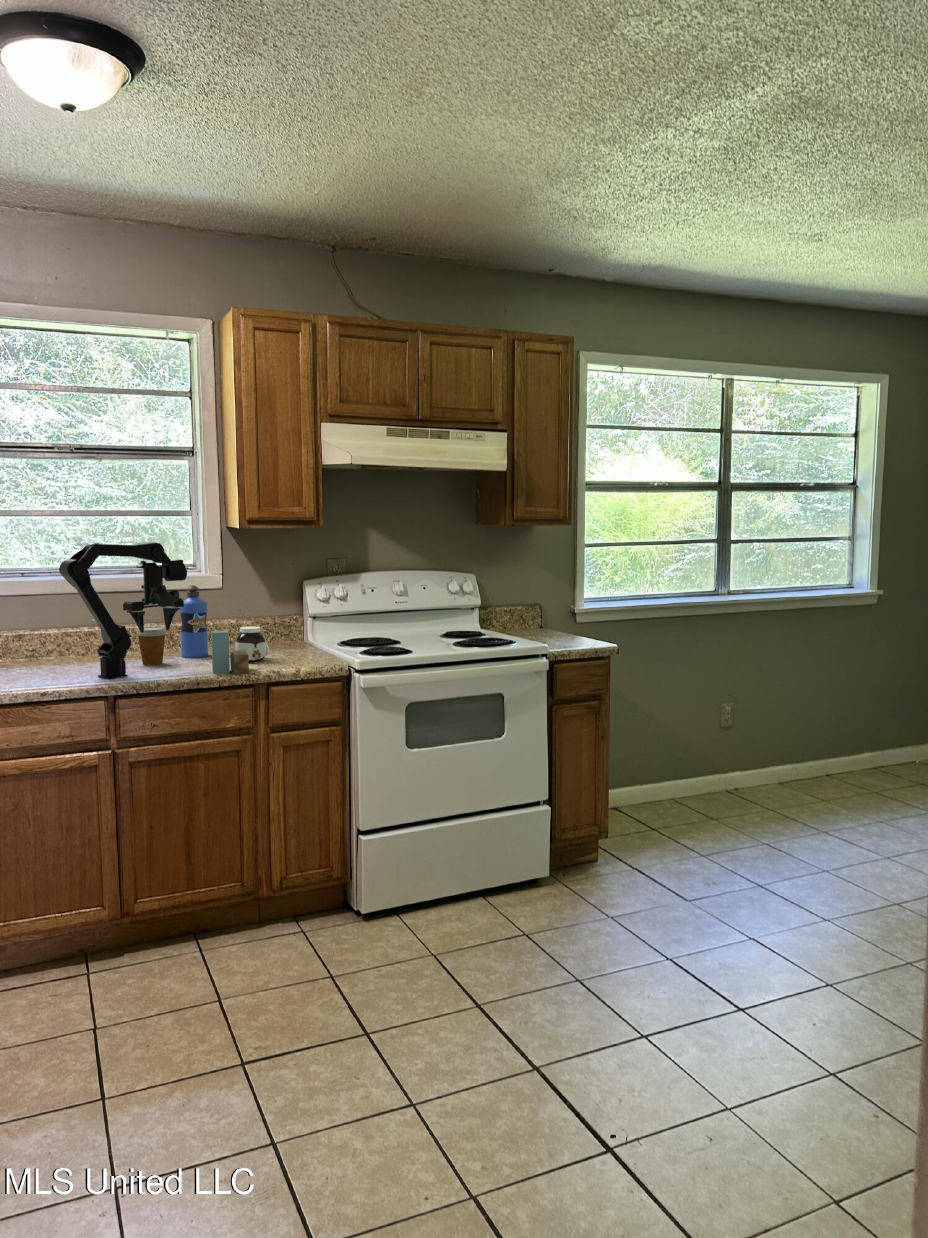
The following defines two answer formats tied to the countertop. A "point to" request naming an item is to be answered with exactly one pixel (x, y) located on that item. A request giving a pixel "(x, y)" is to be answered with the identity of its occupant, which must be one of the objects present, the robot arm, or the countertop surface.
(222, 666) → the teal block
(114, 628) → the robot arm
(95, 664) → the countertop surface
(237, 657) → the block
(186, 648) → the water bottle
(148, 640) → the disposable coffee cup
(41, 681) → the countertop surface
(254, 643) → the spread jar
